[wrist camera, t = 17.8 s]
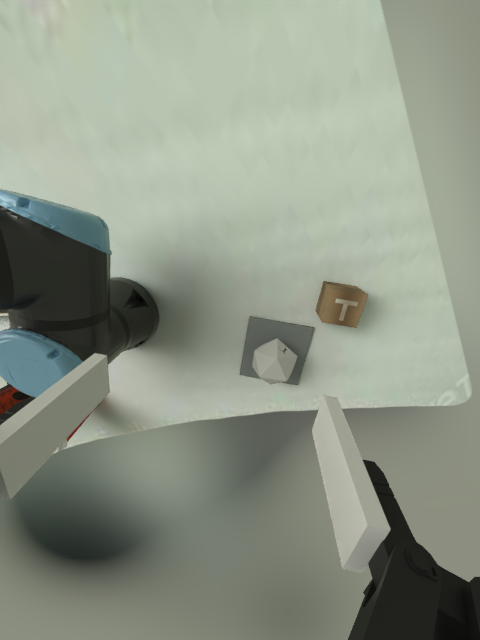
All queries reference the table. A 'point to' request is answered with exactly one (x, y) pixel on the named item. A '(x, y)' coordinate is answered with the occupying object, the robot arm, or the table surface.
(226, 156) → the table surface
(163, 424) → the table surface
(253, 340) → the grey mat
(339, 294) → the letter block
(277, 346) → the die
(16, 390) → the statue
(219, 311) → the table surface
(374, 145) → the table surface
